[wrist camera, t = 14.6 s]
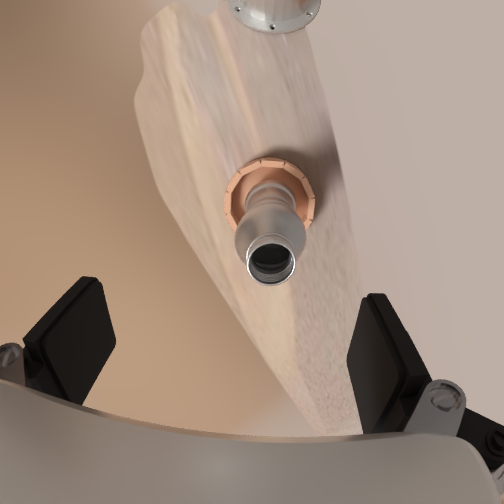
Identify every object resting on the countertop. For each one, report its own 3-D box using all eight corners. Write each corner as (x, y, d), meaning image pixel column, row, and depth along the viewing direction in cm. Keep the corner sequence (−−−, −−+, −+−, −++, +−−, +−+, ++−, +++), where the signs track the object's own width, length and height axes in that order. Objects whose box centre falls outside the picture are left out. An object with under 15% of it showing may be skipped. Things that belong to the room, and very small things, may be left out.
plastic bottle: (304, 199, 40) (334, 262, 22) (269, 233, 43) (269, 316, 24) (270, 166, 39) (273, 201, 21) (235, 201, 41) (208, 265, 23)
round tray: (227, 155, 40) (224, 156, 37) (316, 161, 39) (320, 163, 37) (224, 238, 44) (222, 246, 41) (307, 244, 44) (310, 252, 41)
